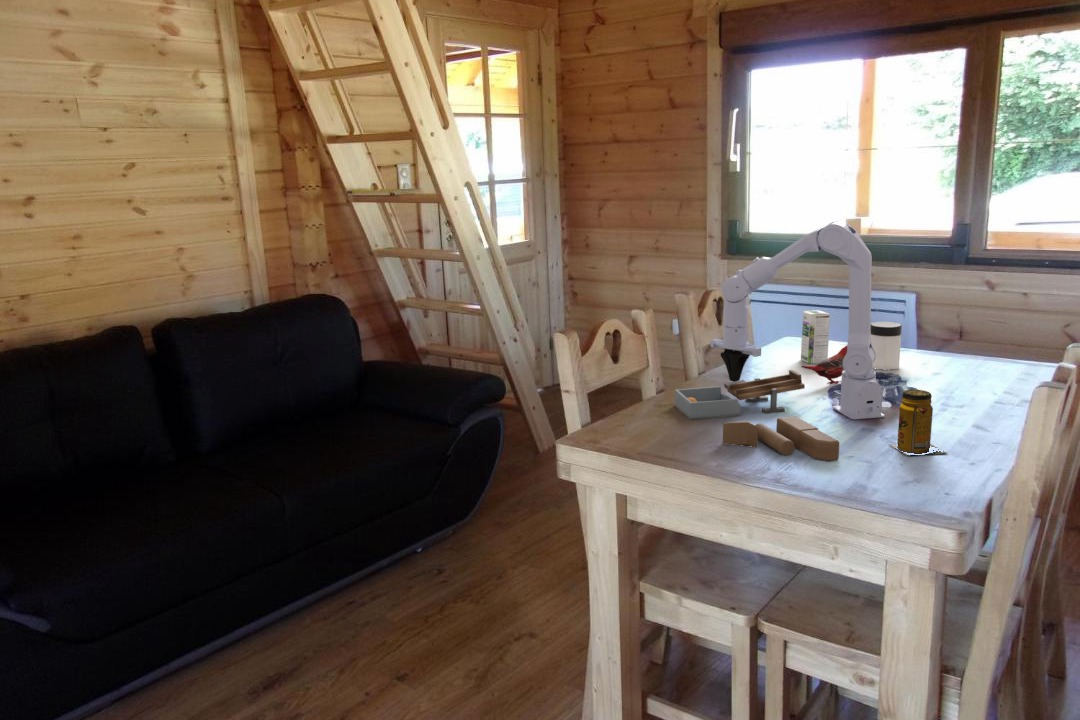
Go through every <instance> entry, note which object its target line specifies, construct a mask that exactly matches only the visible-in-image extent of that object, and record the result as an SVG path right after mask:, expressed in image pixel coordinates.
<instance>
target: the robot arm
mask: <svg viewBox="0 0 1080 720" xmlns="http://www.w3.org/2000/svg"><path fill="white" fill-rule="evenodd" d="M822 250H823V251H824V252H826V253H828V254H830V255H831V254H832V255H834V256H836V257H838V258H839V259H841V260H842V261H843V262H844V263H846V264H847V265H848V266H849V268H848V270H849V272H848V276H849V277H848V337H847V345H846V346H847V353H846V355H845V357H844V359H843V368H844V370H843V371H842V376H841V381H842V382H840V386H841V388H840V405H833V406H832V409H833V410H835V411H837V412H839V413H840V414H843V415H844V416H845V417H847V418H849V419H851V420H866V419H875V418H876V419H878V418H885V416H886V414H884V413H882V411H883V410H882V408H883V394H884V393H883V388H882V386H881V384H880V383H879V382H878V381H877V378H876V375H877V373H876V371H875V370H874V369H873V368H872V366H873V363H874V361H875V358H876V354H875V350H874V349H873V347H872V343H871V323H872V321H871V317H872V269H873V268H872V265H873V264H872V263H873V262H872V260H873V258H872V252H871V251H870V249H869V248H868V247H867V245H866V244H865V242H864V241H863V239H862V238H861V236H860V235H859V233H858V232H857V229H856V228H854V227H853V226H851V225H850V224H848V223H846V222H845V221H842V220H835V221H832V222H830V223H828V224H827V225H825V226H823V227H819V228H818V229H816V230H813V231H811V232H809V233H807V234H805V235H804V236H802V237H801V238H799V239H797V240H796V241H794V242H793V243H792V244H790V245H789V246H787V247H786V248H784V249H783V250H781V251H780V252H778V253H776V254H775V255H774V256H772V257H767V256H762V257H760V258H759V257H758V256H757V257H756V258H755V259H753V260H752V263H750V264H749V265H748V266H746V267H745V268H743V269H738V270H737V271H735V274H736V275H732V276H730V277H728V278H727V279H726V280H725V281H724V282H723V284H722V286H721V295H722V297H723V320H722V321H723V324H722V327H723V330H722V331H723V332H722V333H723V334H722V335H723V336H722V337H723V339H721V338H720V339H719V338H714V339H710V348H712V349H715V348H717V349H719V350H720V349H722V350H724V351H723V352H720V357H721V359H722V360H723V362H724V364H725V367H726V370H727V375H728V378H729V381H730V382H735V381H740V379H741V376H742V373H743V369H744V367H745V364H746V362H747V361H748V359H749V357H750V356H752V357H754V358H755V357H756V358H757V357H761V356H762V347H760V346H756V345H753V344H751V343H750V342H749V341H748V335H749V334H748V333H749V332H748V331H749V330H748V327H749V323H748V322H749V306H748V304H749V302H748V301H749V299H748V297H749V295H750V293H751V292H755V291H757V290H758V289H761V288H762V287H763V286H765V285H767V284H769V282H771V281H772V280H774V279H776V278H777V276H778V272H779V269H781V268H782V267H784V266H786V265H788V264H789V263H791V262H793V261H794V260H796V259H797V258H799V257H801V256H803V255H804V254H806V253H814V252H815V253H816V252H818V253H819V252H820V251H822Z"/></svg>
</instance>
